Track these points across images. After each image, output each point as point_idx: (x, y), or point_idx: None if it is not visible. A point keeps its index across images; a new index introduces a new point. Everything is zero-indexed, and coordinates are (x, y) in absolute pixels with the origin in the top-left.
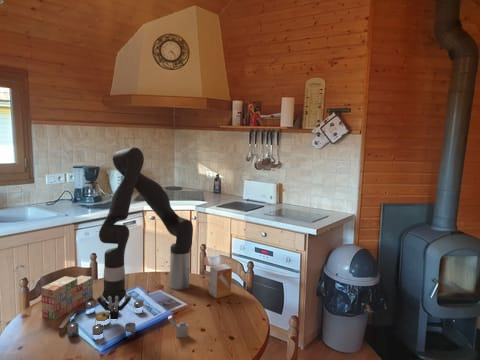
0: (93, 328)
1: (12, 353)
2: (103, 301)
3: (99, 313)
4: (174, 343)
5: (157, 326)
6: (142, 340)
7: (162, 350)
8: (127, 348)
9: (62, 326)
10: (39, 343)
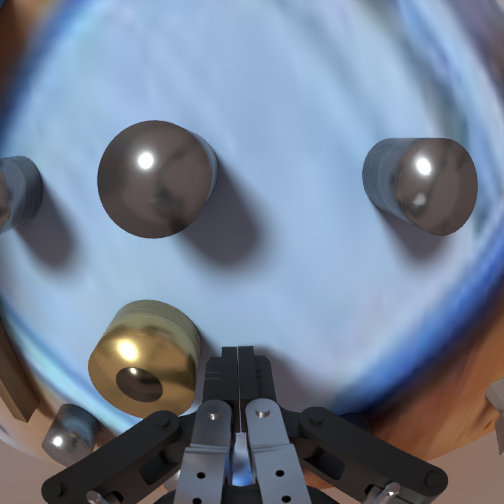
0: None
1: (10, 443)
2: (124, 496)
3: (106, 369)
4: (468, 419)
5: (464, 346)
6: (387, 438)
7: (428, 451)
8: None
9: (18, 415)
10: (22, 427)
